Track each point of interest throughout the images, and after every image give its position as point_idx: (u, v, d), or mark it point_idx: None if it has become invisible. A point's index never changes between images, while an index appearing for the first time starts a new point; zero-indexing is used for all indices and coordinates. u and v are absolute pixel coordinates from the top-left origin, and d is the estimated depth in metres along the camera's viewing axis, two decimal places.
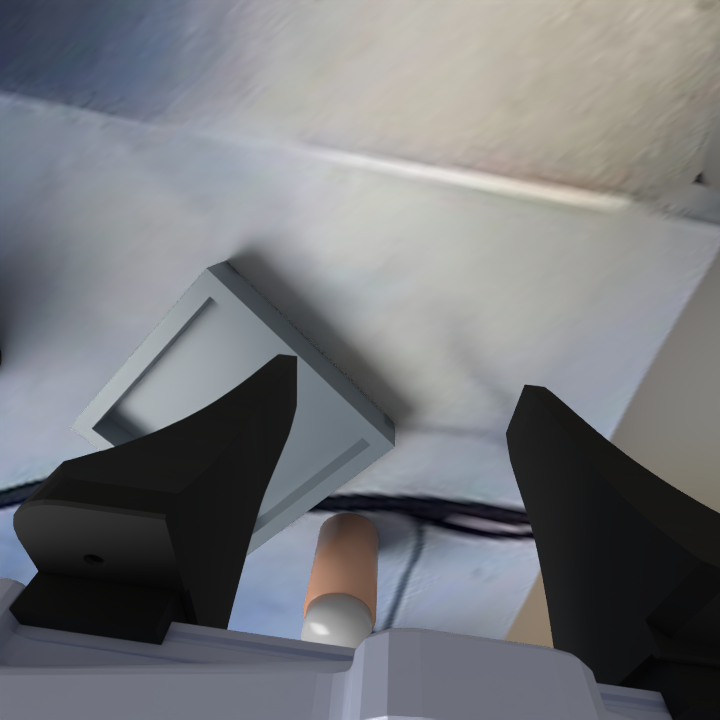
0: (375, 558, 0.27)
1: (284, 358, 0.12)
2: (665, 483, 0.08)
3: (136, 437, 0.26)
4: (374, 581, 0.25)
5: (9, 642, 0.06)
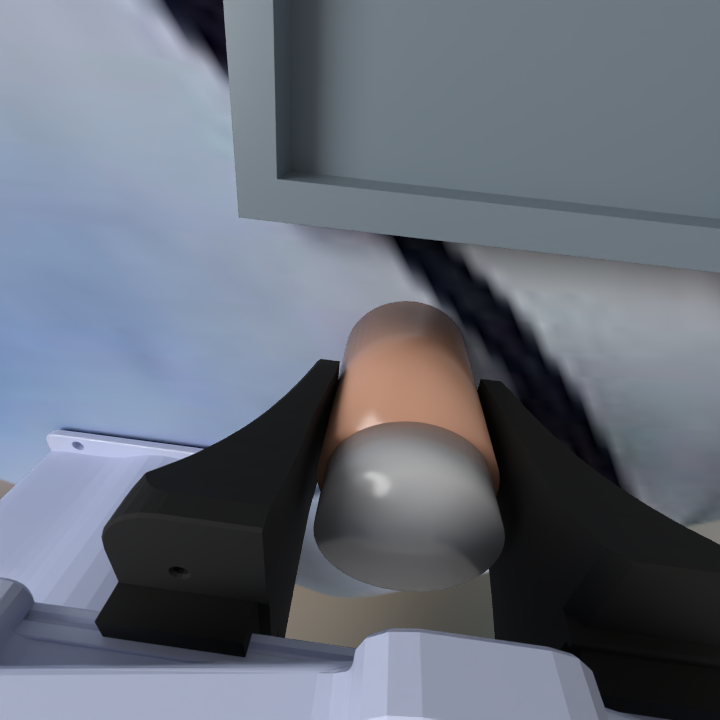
0: None
1: (328, 364, 0.12)
2: (599, 474, 0.08)
3: None
4: None
5: (9, 642, 0.06)
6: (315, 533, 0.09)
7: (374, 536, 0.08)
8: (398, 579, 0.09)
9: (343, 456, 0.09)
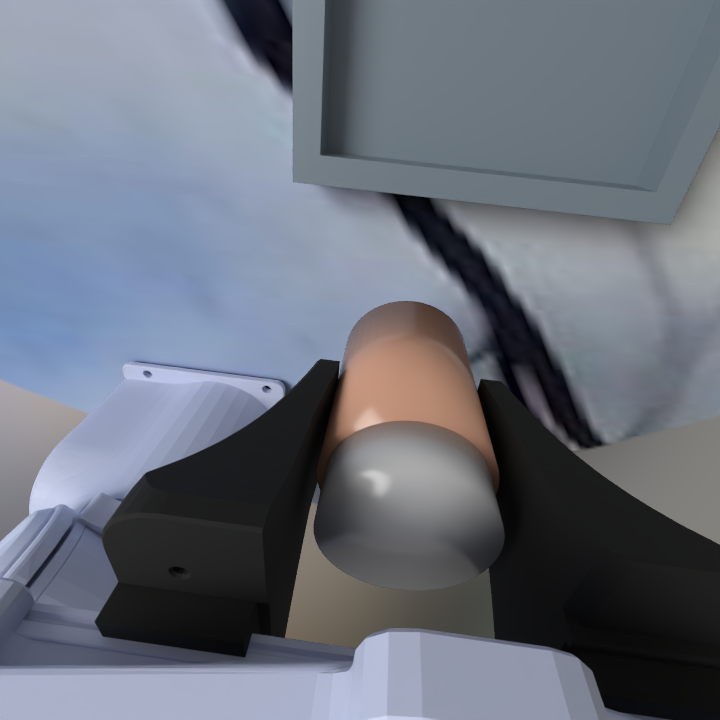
0: None
1: (328, 363, 0.12)
2: (599, 474, 0.08)
3: None
4: None
5: (9, 642, 0.06)
6: (315, 532, 0.09)
7: (374, 535, 0.08)
8: (398, 578, 0.09)
9: (343, 455, 0.09)
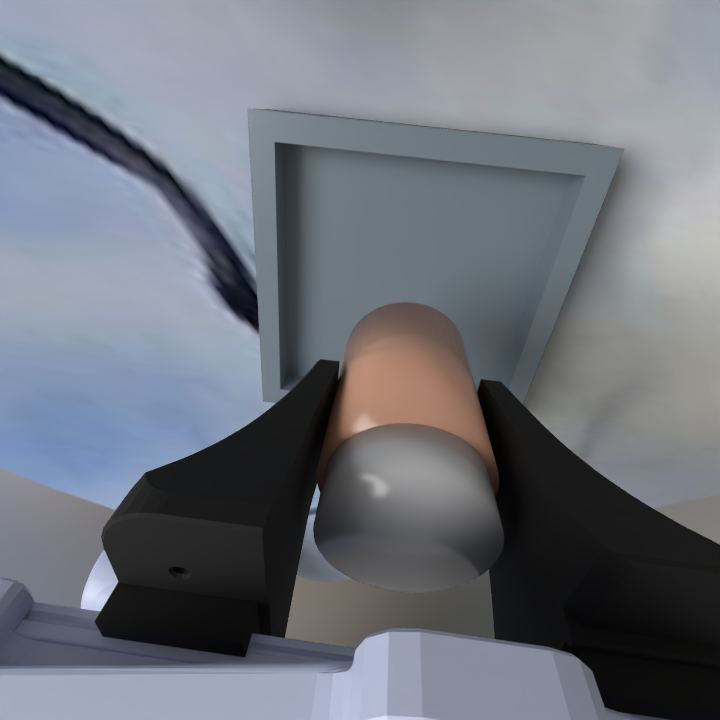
0: None
1: (328, 364, 0.12)
2: (599, 474, 0.08)
3: (286, 195, 0.18)
4: None
5: (9, 642, 0.06)
6: (315, 534, 0.09)
7: (374, 537, 0.08)
8: (397, 580, 0.09)
9: (343, 458, 0.09)
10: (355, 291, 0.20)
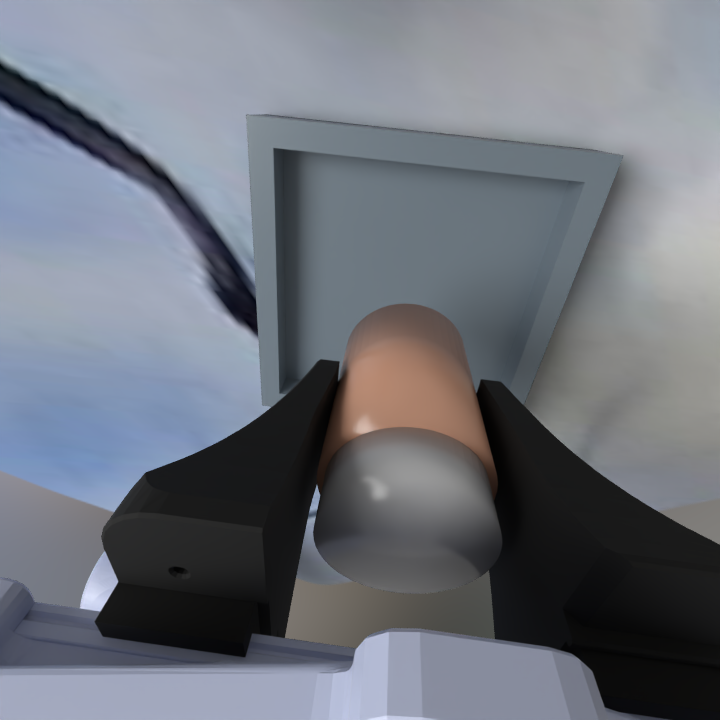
0: None
1: (328, 364, 0.12)
2: (599, 474, 0.08)
3: (285, 200, 0.18)
4: None
5: (9, 642, 0.06)
6: (315, 537, 0.09)
7: (373, 540, 0.09)
8: (397, 582, 0.09)
9: (342, 461, 0.09)
10: (354, 296, 0.20)
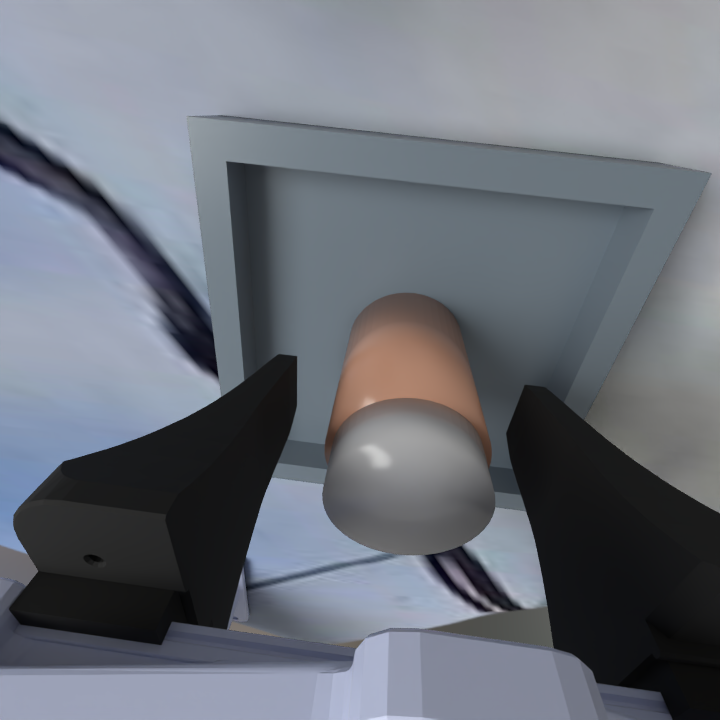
0: None
1: (284, 358, 0.12)
2: (665, 483, 0.08)
3: (250, 227, 0.14)
4: None
5: (9, 642, 0.06)
6: (323, 499, 0.09)
7: (377, 501, 0.09)
8: (399, 543, 0.10)
9: (349, 429, 0.09)
10: (342, 344, 0.16)
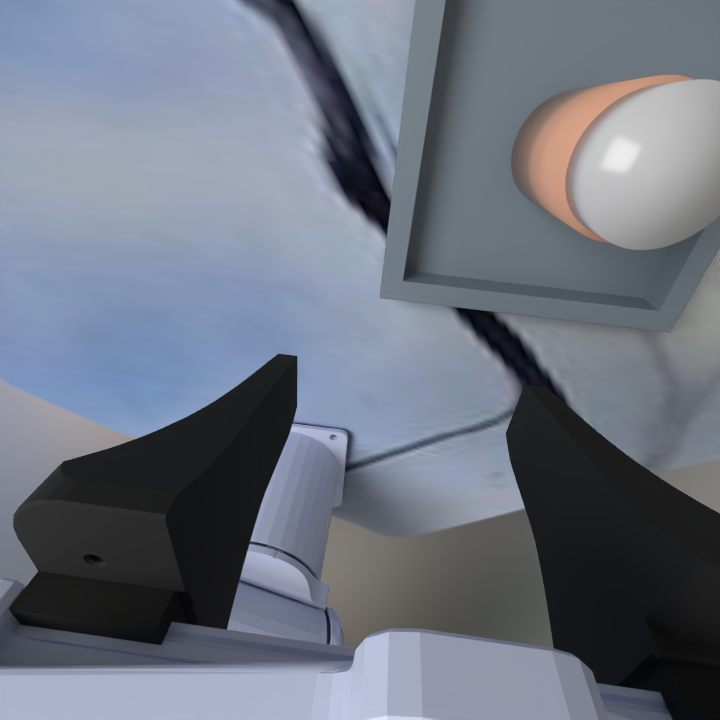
0: None
1: (284, 358, 0.12)
2: (665, 483, 0.08)
3: (442, 18, 0.15)
4: None
5: (9, 642, 0.06)
6: (589, 172, 0.10)
7: (640, 170, 0.10)
8: (641, 233, 0.11)
9: (610, 111, 0.11)
10: (504, 154, 0.17)
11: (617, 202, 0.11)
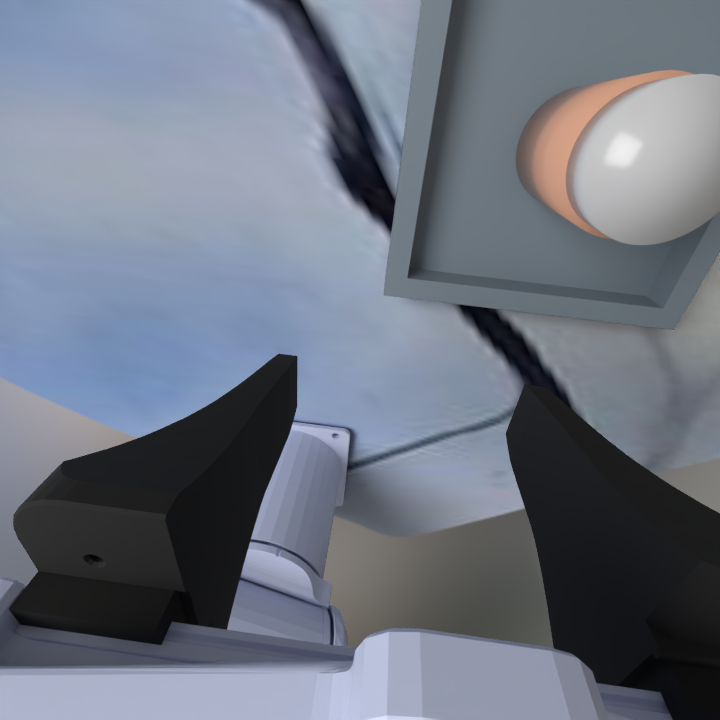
0: None
1: (284, 358, 0.12)
2: (664, 482, 0.08)
3: (449, 15, 0.15)
4: None
5: (9, 642, 0.06)
6: (589, 164, 0.10)
7: (640, 164, 0.10)
8: (639, 228, 0.11)
9: (612, 105, 0.11)
10: (509, 151, 0.17)
11: (616, 195, 0.11)
